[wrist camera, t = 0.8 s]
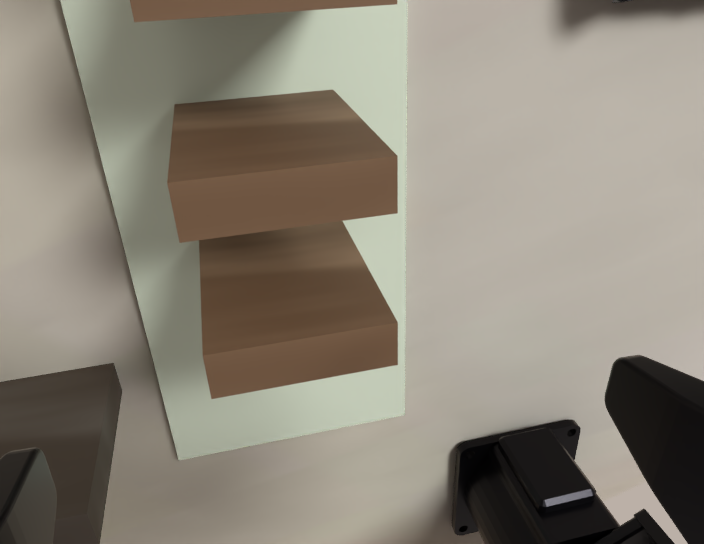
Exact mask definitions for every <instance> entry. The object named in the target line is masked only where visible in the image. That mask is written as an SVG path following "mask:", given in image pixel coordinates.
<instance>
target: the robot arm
mask: <svg viewBox="0 0 704 544" xmlns="http://www.w3.org/2000/svg"><path fill="white" fill-rule="evenodd" d="M605 405H606V408H607V410H608V412H609V414H610V416H611V418H612V420H613V422H614V423H615V425H616V427H617V429H618V431H619V432H620V434H621V436H622V438H623V440H624V441H625V443H626V445H627V447H628V449H629V451H630V452H631V454H632V456H633V458H634V460H635V461H636V463H637V465H638V467H639V469H640V471H641V472H642V474H643V476H644V478H645V479H646V481H647V483H648V484H649V486H650V488H651V489H652V491H653V492H654V494H655V496H656V497H657V499H658V500H659V502H660V503H661V505H662V506H663V508H664V509H665V511H666V512H667V513H668V515H669V516H670V518H671V519H672V521H673V522H674V524H675V525H676V527H677V528H678V530H679V531H680V532H681V534H682V536H683V537H684V538H685V540H686V541H687V543H688V544H704V381H702V380H700V379H697V378H695V377H692V376H690V375H688V374H685V373H683V372H680V371H678V370H676V369H673V368H671V367H668V366H666V365H664V364H661V363H659V362H656V361H654V360H652V359H649V358H647V357H644V356H641V355H634V356H627V357H621V358H618V359H617V360H616V361H615V362H614V363H613V366H612V370H611V373H610V377H609V381H608V385H607V389H606V393H605ZM579 435H580V427H579V426H578V425H577V423H576V422H575V421H574V420H566V421H561V422H557V423H552V424H547V425H543V426H538V427H533V428H529V429H524V430H519V431H515V432H510V433H505V434H501V435H496V436H491V437H487V438H482V439H477V440H473V441H468V442H465V443H463V444H461V445H460V446H459V447H458V449H457V455H456V470H455V485H454V500H453V515H452V527H453V529H454V532H455V533H456V534H457V535H465V534H469V533H473V532H477V531H479V532H480V535H481V537H482V539H483V541H484V543H485V544H674V542H673V541H672V540H671V539H670V538H669V537H668V536H667V535H666V533H665V532H664V531H663V530H662V529H661V527H660V526H659V525H658V524H657V523H656V522H655V520H654V519H653V518H652V517H651V516H650V515H649V513H648V512H647V511H646V510H645V509H642V510H641V511H639V512H638V513H636V514H634V518H632V519H631V520H629V521H627V522H626V523H624V524H623V525H621V526H620V525H619V524H618V522H617V521H616V520H615V518H614V517H613V515H612V514H611V513H610V511H609V510H608V509H607V507H606V506H605V505H604V503H603V502H602V500H601V499H600V498H599V496H598V495H597V494H596V490H595V488H594V487H593V485H592V484H591V483H590V481H589V480H588V479H587V477H586V476H585V475H584V473H583V472H582V471H581V469H580V468H579V466H578V465H577V464H576V462H575V461H574V460H575V455H576V450H577V445H578V440H579ZM56 507H57V494H56V488H55V485H54V482H53V479H52V476H51V473H50V470H49V467H48V464H47V461H46V458H45V455H44V453H43V452H42V450H41V449H39V448H36V447H34V448H27V449H21V450H14V451H10V452H8V453H6V454H5V455H3V456H2V457H1V458H0V544H53V535H54V525H55V516H56Z"/></svg>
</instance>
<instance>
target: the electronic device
mask: <svg viewBox="0 0 704 544" xmlns="http://www.w3.org/2000/svg"><path fill="white" fill-rule="evenodd" d="M625 1H631V0H613V1H612V3H615V2H625Z"/></svg>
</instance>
